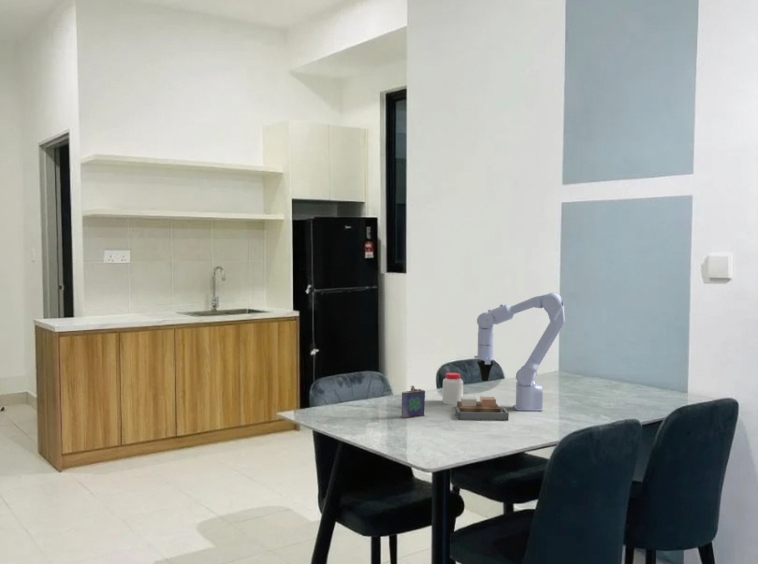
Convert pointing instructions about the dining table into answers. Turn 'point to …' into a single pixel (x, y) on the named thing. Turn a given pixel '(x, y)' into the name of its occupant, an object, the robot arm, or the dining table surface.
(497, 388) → the dining table surface
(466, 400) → the tile cream
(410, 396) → the flask
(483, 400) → the tile terracotta
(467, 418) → the tray
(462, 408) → the board
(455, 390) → the pill bottle
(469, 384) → the dining table surface
